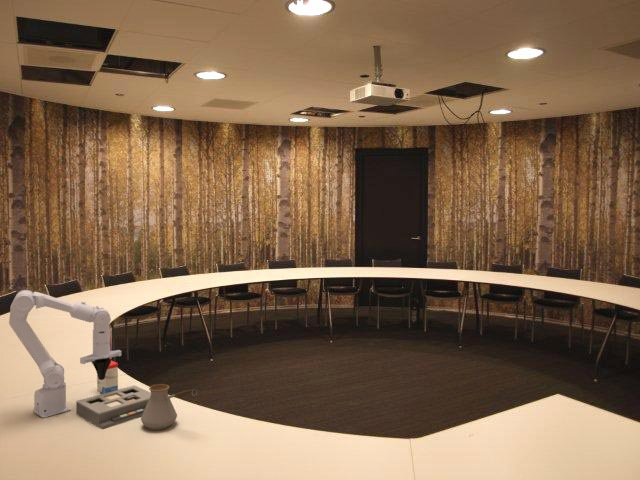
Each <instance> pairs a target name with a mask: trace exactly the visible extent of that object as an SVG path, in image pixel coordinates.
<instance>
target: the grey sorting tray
mask: <svg viewBox="0 0 640 480" xmlns="http://www.w3.org/2000/svg"><path fill="white" fill-rule="evenodd" d="M132 392H133V393H132ZM128 393H132V394H129V395H127V394H128ZM112 395H118V396H122V397H118V398H115V399H111V400H110V399H108V398H106V397H108V396H112ZM132 396H135V397H137V398H139V399H137V400H133V401H130V402H128V401H126V400H124V399H125V398H129V397H132ZM150 396H151V391H149V390H145V389H144V388H142V387H139V386H137V385H135V384H134V385H131V386H126V387H123V388H120V389H119V388H118V390H116V391H112V392H108V393H104V394H103V393H100V394H98V395H93V396H90V397H86V398H83V399H79V400H76V406H75V407H76V409H75V410H76V411H75V412H76V414H75V415H78V416H80V417H81V418H84V419H85V420H87V421H88V422H90V423H92V424H93V425H95V426H97V427H99V428H100V429H102V430H103V429H107V428H111V427H113V426H116V425H119V424H123V423H125V422H130V421H132V420H134V419H138V418H141V417H142V415H143V412H144V410H145V408H146V405H147V403H148V401H149V398H150ZM115 401H118V402H119V403H121V404H120V405H116V406H113V407H110V406H108V405H106V404H108V403H111V402H115ZM96 402H100V403H97V404H93V405H91V404H92V403H96ZM122 403H123V404H122Z"/></svg>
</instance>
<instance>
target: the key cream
mask: <svg viewBox="0 0 640 480" xmlns="http://www.w3.org/2000/svg"><path fill="white" fill-rule="evenodd" d="M120 404H121V403H119V402H117V401H116V402H112V403H109V404H106V405H108V406H110V407H113V406H116V405H120Z"/></svg>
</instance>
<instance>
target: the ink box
mask: <svg viewBox="0 0 640 480" xmlns="http://www.w3.org/2000/svg"><path fill="white" fill-rule="evenodd" d="M118 365H119V364H118V362H115V361H113V360H111V363H110V365H109V367H108V369H107V371H106V375H105V379H103V380H100V379H98V375H97V374H96V376H97V377H96V378H97V379H96V382H97V383H96V388H97V389H96V390H97V391H98V392H100V394H104V393H108V392H112V391H116V390H119V373H118V372H119V371H118V370H119V369H118V368H119V367H118Z"/></svg>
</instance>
